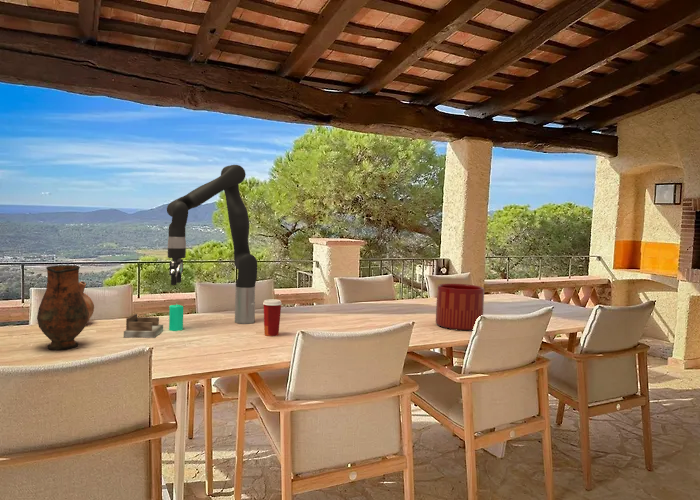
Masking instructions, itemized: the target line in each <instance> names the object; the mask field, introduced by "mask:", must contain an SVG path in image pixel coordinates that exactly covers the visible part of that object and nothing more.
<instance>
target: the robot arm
mask: <svg viewBox="0 0 700 500" xmlns="http://www.w3.org/2000/svg"><path fill="white" fill-rule="evenodd" d="M246 175H247V174H246V170H245V168H243V166H241V165H239V164H231V165H226V166H223V168H222V169H221V172H220V176H218V177H217V178H215V179H213V180H211V181H208V182H206V183H205V184H202V185H199V186H198V187H196V188H195V189H193V190H191V191H189V192H188V193H187V194H185V195H183V196H181V197H179V198H177V199H174V200H173V201H171V202H169V203H168V204H167V207H166V212H167V215H169V216H170V217H171V223H170V224H169V225H168V237H167V258H168V259H172V260H171V261H169V271H168V272H169V273H168V274H169V275H168V276H170V285H171V286H177V284H178V283H179V284H180V283H182V274H183V272H184V259H186V257H187V256H186V255H187V252H186V251H187V245H186V244H187V242H186V241H187V240H186V226H187V221H188V217H189V210H191V209H195V208H197V207H199V206H201V205H202V204H204V203H206V202H207V201H209V200H210V199H211V198H213V197H215V196H216V195H218V194H220V193H221V192H224V195H225V202H226V209H227V217H228V222H229V228H230V234H231V239H232V244H233V256H234V257H233V259H234V261H233V262H234V265H235V268H236V269H237V271H238V272H237V278H236V280H235V290H234V292H235V295H234V296H235V297H234V301H235V303H234V304H235V305H234V323H236V324H243V325H244V324H255V318H256V317H255V316H256V301H255V300H256V282H257V280H258V279H257V278H258V260H257V258H256V257H255V255H253V254H251V251H250V245H249V235H250V219H249V213H248V210H247V207H246V205H245V202H244V201H243V199H242V197H241V194H240V186H239V184H241V183H243V182H244V180H245V178H246Z"/></svg>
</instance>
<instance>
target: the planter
mask: <svg viewBox="0 0 700 500" xmlns="http://www.w3.org/2000/svg"><path fill="white" fill-rule="evenodd" d="M484 304H485V287H482V286H480V285H473V284H467V283H466V284H465V283H439V284H438V285H437V289H436V304H435V305H436V307H435V324H436V325H437V326H439V327H440V326H441V327H440V328H443V327H444V328H443V329H446V328H449V329H448V330H451V329H457V330H456V331H460V330H472V329H473V326H474V324H475V321H476V319H477V318H478V317H479V316H481V315H483V316H484V306H485V305H484ZM472 331H473V330H472Z"/></svg>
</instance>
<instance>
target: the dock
mask: <svg viewBox="0 0 700 500" xmlns="http://www.w3.org/2000/svg"><path fill="white" fill-rule="evenodd" d="M125 322H126V323H125V325H126V326H125V329H124V331H123V338H125V339H127V338H130V339H131V338H132V339H134V338H137V339H138V338H140V339H141V338H143V339H144V338H145V339H155V338H156V337H157V336H158V335H159V334H161V333H162V332H163V331H164V324H160V318H159V316H157V317H156V316H152V317H151V316H150V317H149V316H138V313H134V314H132V315H130V316H128V317H127V318H126V319H125Z"/></svg>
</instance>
